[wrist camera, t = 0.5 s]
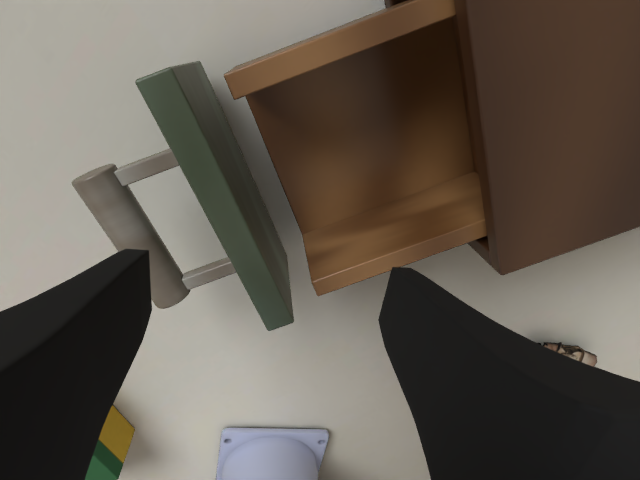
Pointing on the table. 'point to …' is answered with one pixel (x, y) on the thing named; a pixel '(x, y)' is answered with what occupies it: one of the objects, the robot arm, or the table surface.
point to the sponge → (111, 448)
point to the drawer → (315, 158)
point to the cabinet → (552, 122)
